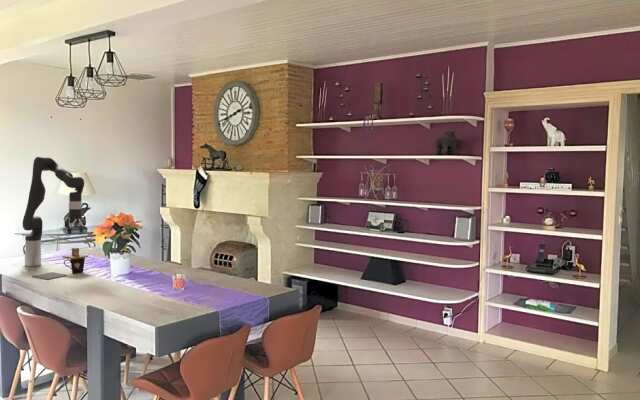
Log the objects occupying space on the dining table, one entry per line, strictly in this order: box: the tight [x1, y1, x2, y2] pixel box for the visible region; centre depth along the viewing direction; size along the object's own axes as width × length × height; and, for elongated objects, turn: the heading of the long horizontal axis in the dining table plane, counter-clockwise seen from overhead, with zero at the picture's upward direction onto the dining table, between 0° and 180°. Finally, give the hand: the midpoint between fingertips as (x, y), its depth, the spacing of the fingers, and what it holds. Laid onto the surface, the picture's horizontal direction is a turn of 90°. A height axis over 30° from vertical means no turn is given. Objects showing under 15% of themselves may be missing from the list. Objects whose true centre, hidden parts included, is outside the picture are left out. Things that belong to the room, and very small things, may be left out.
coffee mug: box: [63, 257, 86, 275], centre depth 341 cm, size 12×9×10 cm
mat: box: [31, 271, 68, 281], centre depth 328 cm, size 14×14×1 cm
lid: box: [61, 247, 90, 260], centre depth 341 cm, size 11×11×6 cm
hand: (75, 233), depth 340 cm, fingers open, 8 cm apart
